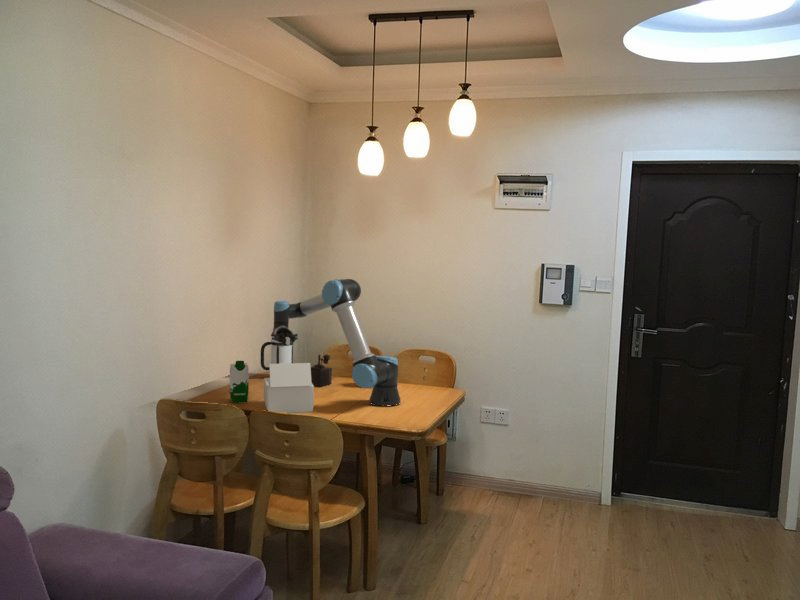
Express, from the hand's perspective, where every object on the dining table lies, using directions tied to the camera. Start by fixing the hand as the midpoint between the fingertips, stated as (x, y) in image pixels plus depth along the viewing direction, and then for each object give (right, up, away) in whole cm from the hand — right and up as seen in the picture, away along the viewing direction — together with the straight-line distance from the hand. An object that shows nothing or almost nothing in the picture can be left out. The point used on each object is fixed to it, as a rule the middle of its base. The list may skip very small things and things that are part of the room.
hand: (288, 341), depth 311 cm
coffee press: (-16, -25, +67) cm, 73 cm away
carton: (-1, -31, +2) cm, 31 cm away
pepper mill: (+10, -27, +51) cm, 58 cm away
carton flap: (+2, -15, -7) cm, 17 cm away
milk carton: (-26, -30, +12) cm, 41 cm away
